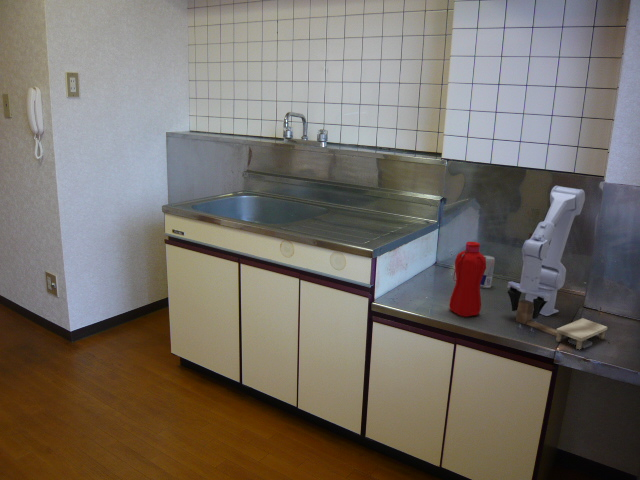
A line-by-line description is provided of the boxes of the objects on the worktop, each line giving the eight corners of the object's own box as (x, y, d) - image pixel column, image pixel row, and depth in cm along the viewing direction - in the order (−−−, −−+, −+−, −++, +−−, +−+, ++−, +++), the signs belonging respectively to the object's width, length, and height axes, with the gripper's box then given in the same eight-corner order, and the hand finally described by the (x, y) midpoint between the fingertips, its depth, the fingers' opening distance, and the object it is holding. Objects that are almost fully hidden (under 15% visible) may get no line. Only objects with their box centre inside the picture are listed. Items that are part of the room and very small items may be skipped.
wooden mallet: (515, 320, 183) (518, 301, 182) (521, 318, 186) (524, 299, 184) (557, 337, 172) (560, 316, 170) (562, 334, 174) (566, 314, 173)
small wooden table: (554, 340, 170) (556, 328, 169) (580, 329, 179) (582, 318, 178) (579, 350, 164) (581, 338, 162) (605, 338, 173) (607, 326, 172)
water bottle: (441, 309, 190) (449, 240, 183) (466, 305, 194) (475, 238, 188) (457, 319, 182) (466, 247, 175) (483, 315, 186) (493, 245, 180)
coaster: (567, 343, 169) (568, 339, 169) (576, 340, 172) (577, 336, 172) (582, 350, 165) (583, 346, 165) (591, 346, 168) (592, 342, 168)
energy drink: (476, 283, 219) (479, 254, 216) (489, 284, 218) (493, 255, 215) (477, 287, 214) (481, 258, 211) (491, 289, 213) (496, 259, 210)
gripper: (504, 271, 182) (498, 309, 186) (544, 284, 171) (537, 324, 175) (516, 268, 186) (510, 305, 190) (556, 280, 175) (549, 319, 179)
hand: (524, 314), depth 182 cm, fingers open, 7 cm apart
